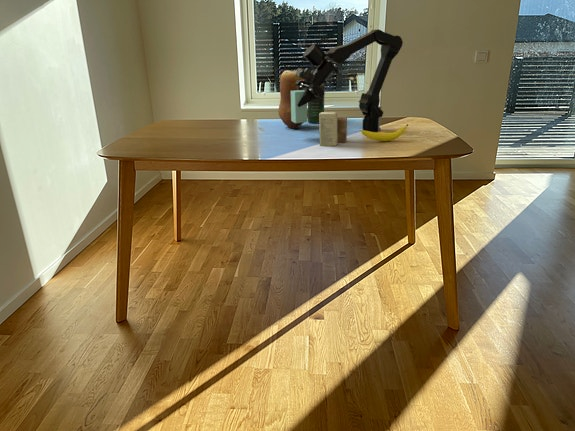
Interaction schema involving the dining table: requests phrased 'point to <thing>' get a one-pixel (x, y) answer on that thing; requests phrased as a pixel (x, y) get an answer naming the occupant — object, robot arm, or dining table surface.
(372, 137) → the banana
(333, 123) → the skincare box
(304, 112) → the teal block
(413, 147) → the dining table surface
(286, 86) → the butternut squash
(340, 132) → the walnut block
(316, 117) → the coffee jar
